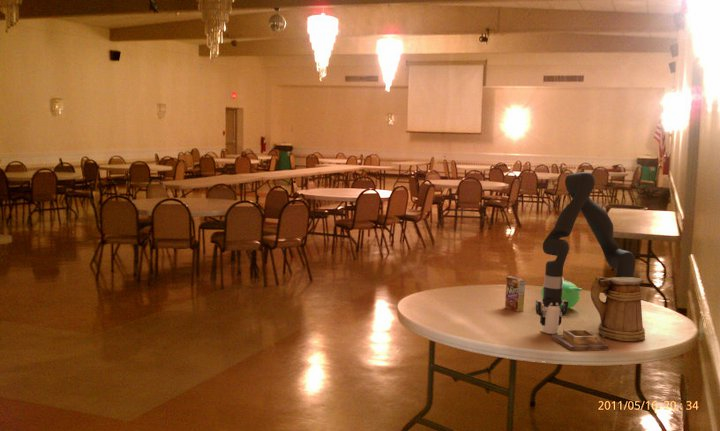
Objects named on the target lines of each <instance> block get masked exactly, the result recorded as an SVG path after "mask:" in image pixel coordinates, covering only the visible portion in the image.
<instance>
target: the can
mask: <svg viewBox="0 0 720 431" xmlns="http://www.w3.org/2000/svg"><path fill="white" fill-rule="evenodd" d="M543 306H544V305H543ZM548 306H549V305H548ZM558 306H559V305H558ZM558 306H549V307H548V309H547V312H546V315H545V326H543V325H541V326H542V327H541V328H542V329H541V331H542V333H544V334H548V335H558V332H559V326H560V325H559V310H560V309H559V307H558ZM546 308H547V307H545V306H544V309H546Z"/></svg>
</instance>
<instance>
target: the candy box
mask: <svg viewBox="0 0 720 431" xmlns="http://www.w3.org/2000/svg"><path fill="white" fill-rule="evenodd" d="M525 290H526V279H522V278H519V277H518V276H517V277H516V276H514V275H511V276H510V275H508V276H506V282H505V297H504V298H505V300H504V308H505V309H508V310H511V311H514V312H524V310H525V309H524V305H525V295H526V294H525Z"/></svg>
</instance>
